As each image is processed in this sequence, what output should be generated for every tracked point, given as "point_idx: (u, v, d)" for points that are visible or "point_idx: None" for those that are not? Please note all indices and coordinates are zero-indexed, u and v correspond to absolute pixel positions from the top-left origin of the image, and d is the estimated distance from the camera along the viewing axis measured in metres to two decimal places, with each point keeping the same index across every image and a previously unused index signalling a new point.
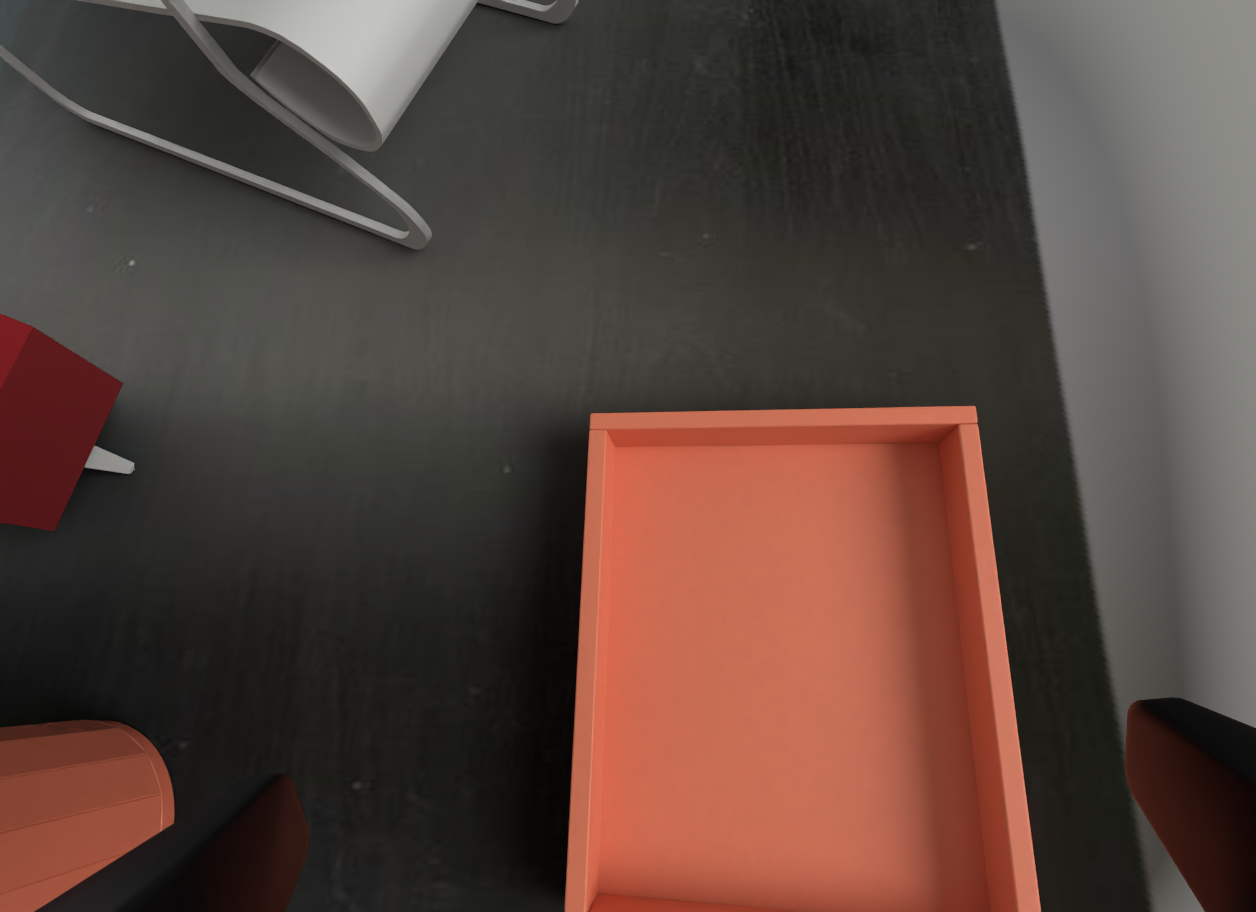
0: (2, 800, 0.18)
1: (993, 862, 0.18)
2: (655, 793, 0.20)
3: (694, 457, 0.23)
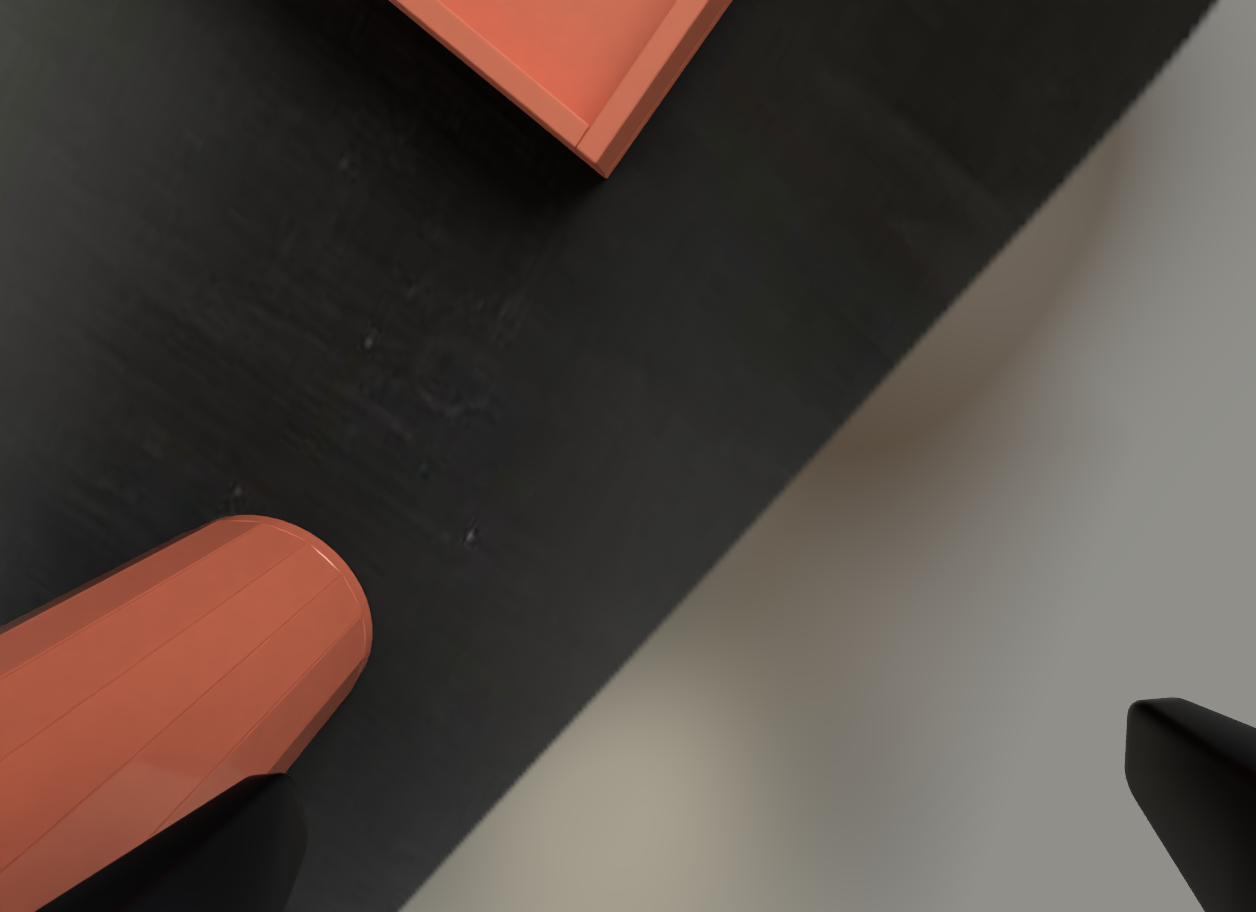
0: (105, 594, 0.16)
1: None
2: (551, 10, 0.16)
3: None
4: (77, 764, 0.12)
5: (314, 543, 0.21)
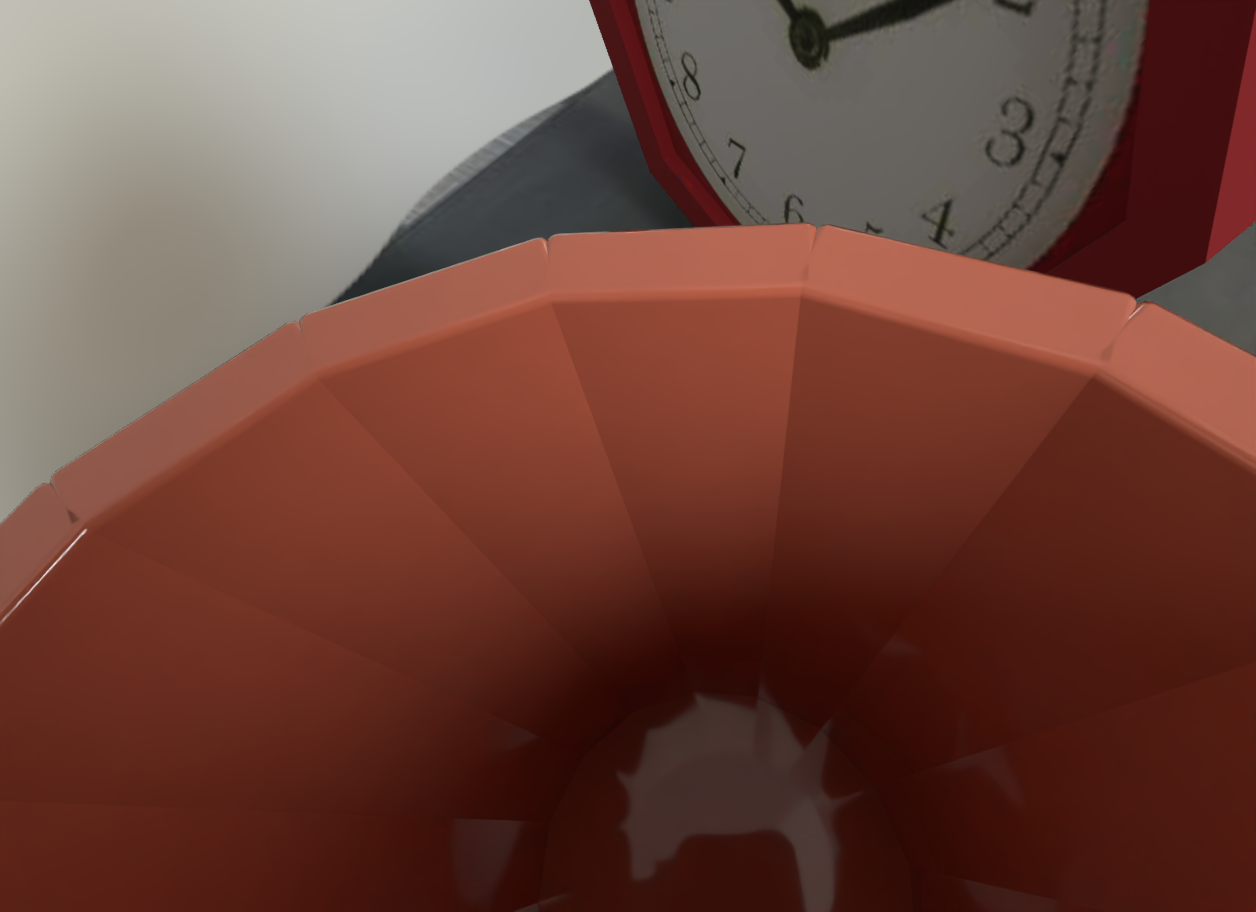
0: None
1: None
2: None
3: None
4: None
5: None
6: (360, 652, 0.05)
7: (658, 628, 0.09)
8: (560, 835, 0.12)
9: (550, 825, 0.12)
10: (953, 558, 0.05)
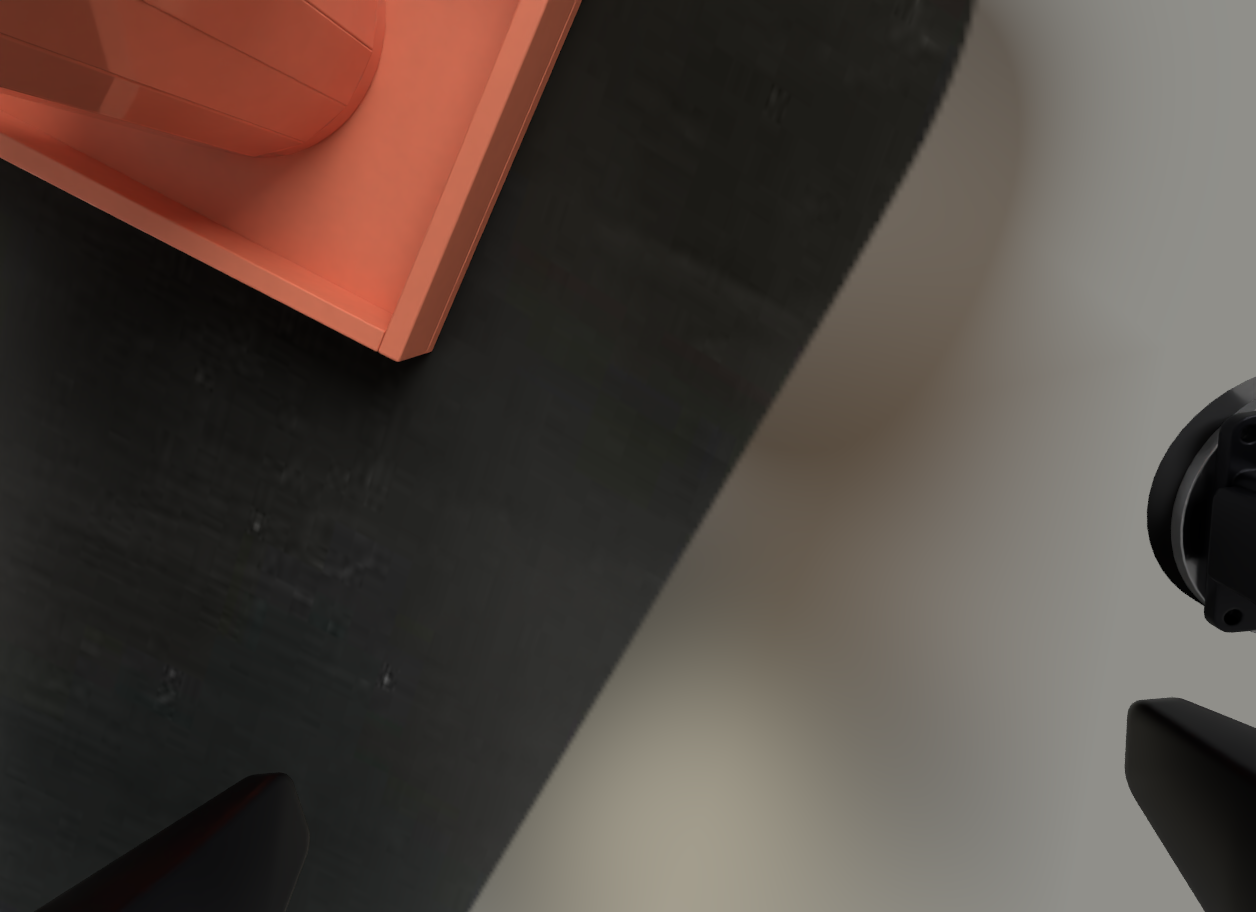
0: None
1: None
2: (344, 222, 0.18)
3: None
4: None
5: None
6: None
7: None
8: None
9: None
10: None
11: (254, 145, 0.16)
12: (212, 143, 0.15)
